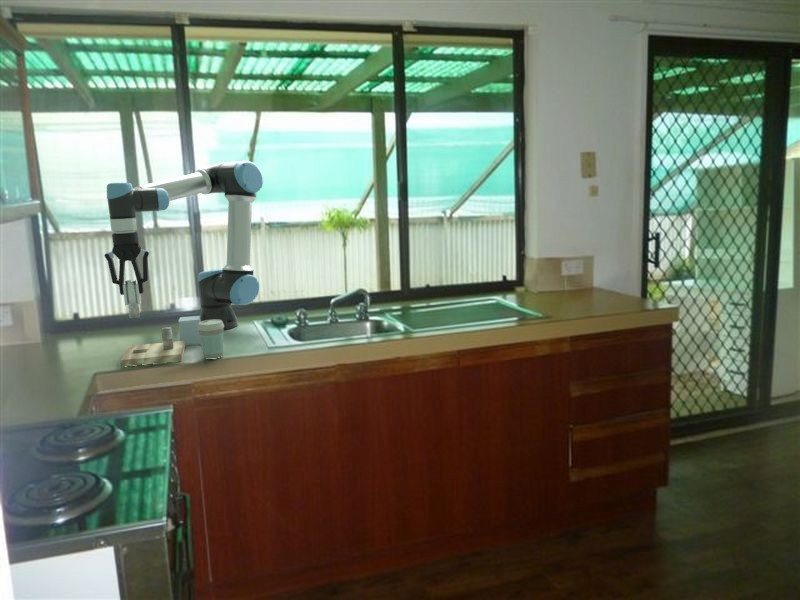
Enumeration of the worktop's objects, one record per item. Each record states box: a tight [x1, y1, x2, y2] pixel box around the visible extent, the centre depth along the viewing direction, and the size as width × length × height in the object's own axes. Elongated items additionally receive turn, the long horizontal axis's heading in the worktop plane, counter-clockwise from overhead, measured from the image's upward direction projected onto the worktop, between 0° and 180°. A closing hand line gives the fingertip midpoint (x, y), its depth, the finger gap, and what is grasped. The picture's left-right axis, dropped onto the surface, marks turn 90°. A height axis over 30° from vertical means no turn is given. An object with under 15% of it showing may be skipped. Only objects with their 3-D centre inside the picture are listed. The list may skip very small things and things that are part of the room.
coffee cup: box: [197, 319, 224, 359], centre depth 198 cm, size 8×8×12 cm
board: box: [120, 326, 186, 368], centre depth 201 cm, size 18×18×10 cm
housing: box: [178, 315, 202, 347], centre depth 218 cm, size 7×7×9 cm
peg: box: [124, 279, 141, 319], centre depth 197 cm, size 3×3×12 cm
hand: (133, 303), depth 197 cm, fingers closed on peg, 3 cm apart
